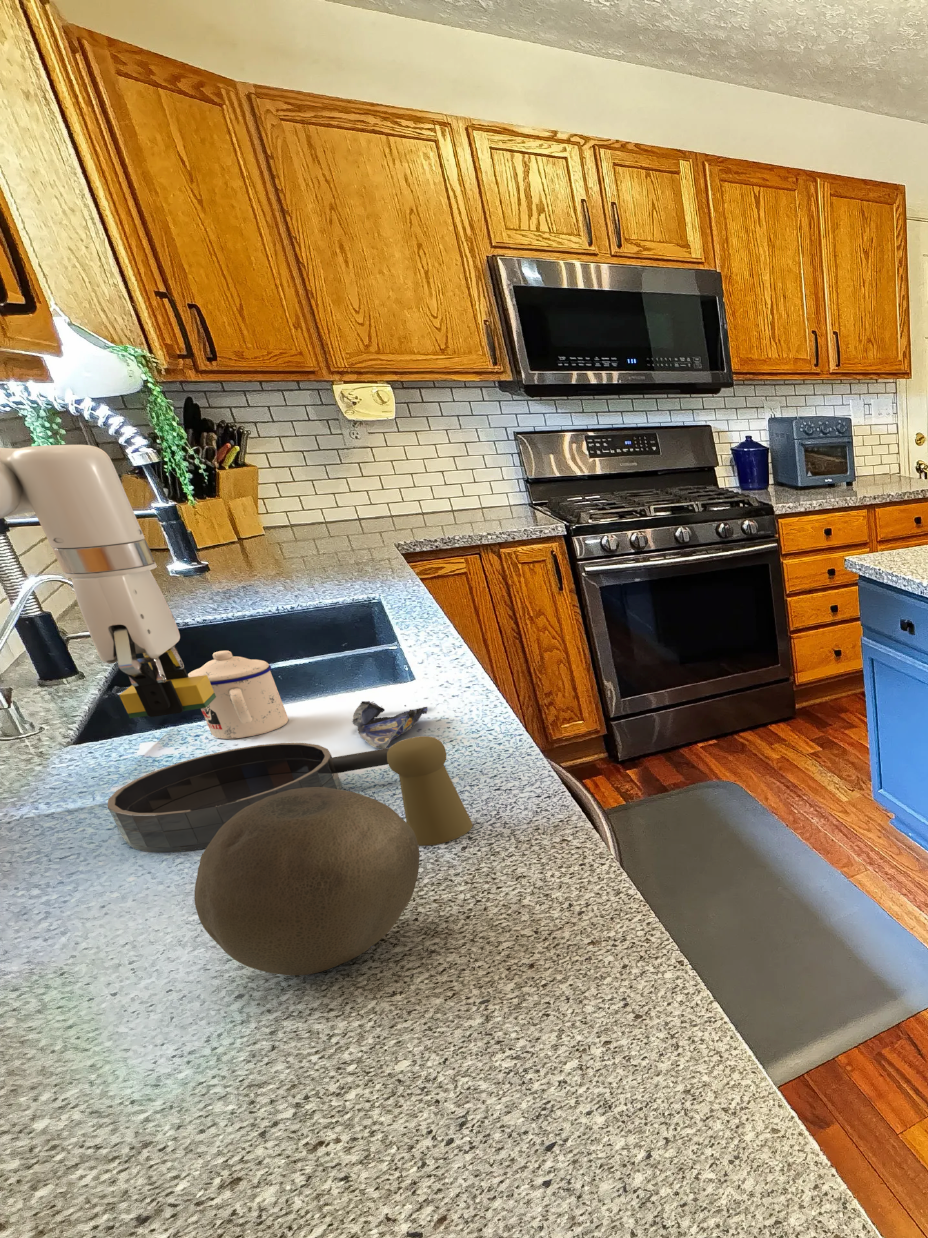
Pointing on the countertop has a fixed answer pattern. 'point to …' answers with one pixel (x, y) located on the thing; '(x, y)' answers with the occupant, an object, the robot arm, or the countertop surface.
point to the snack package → (383, 723)
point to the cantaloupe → (306, 879)
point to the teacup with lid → (241, 697)
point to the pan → (212, 793)
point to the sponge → (188, 689)
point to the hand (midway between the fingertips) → (173, 706)
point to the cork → (428, 791)
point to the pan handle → (358, 761)
